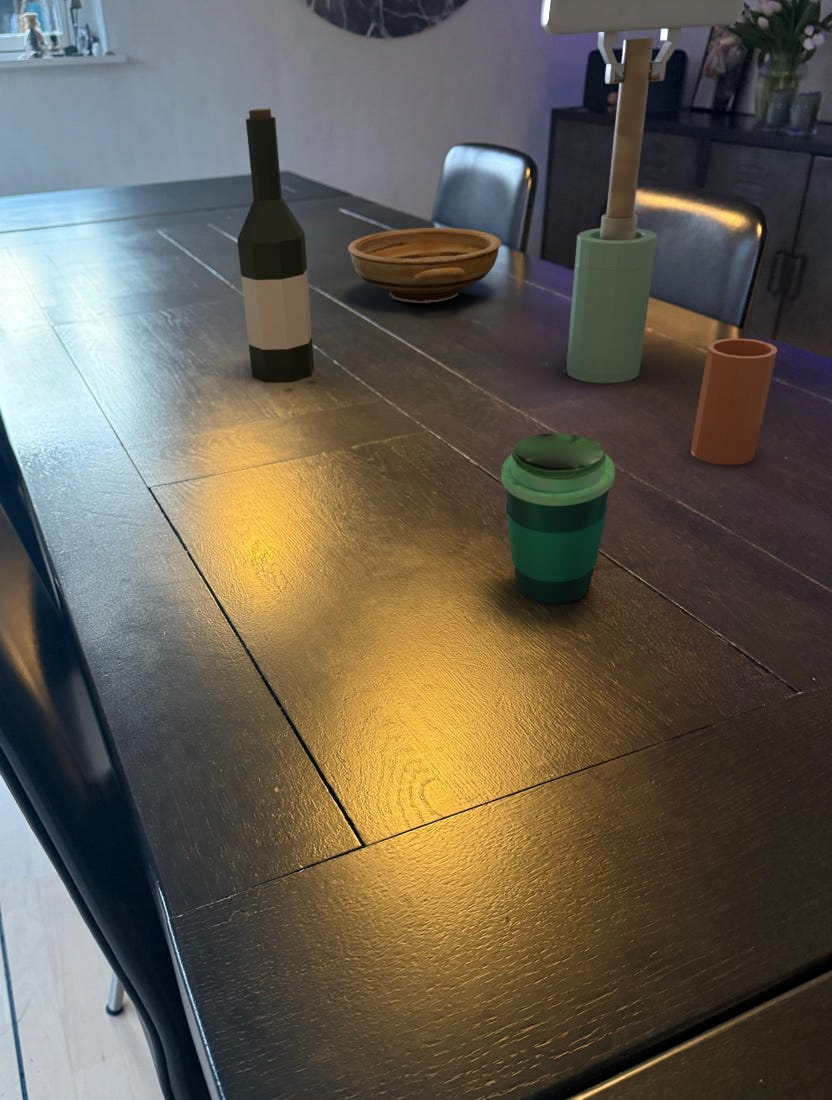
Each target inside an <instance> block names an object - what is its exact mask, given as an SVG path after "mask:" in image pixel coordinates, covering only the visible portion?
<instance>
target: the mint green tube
mask: <svg viewBox="0 0 832 1100" xmlns="http://www.w3.org/2000/svg"><path fill="white" fill-rule="evenodd" d="M600 228H601V227H599V228H598V227H597V228H592V229H587V230H583V231H580V232H579V233H578V235H576V236H577V237H576V247H575V248H576V249H575V259H574V260H575V261H574V270H573V271H574V273H573V284H572V293H571V294H572V295H571V306H570V307H571V308H570V317H569V331H568V342H567V345H568V346H567V355H566V374H567V375H568V376H569V377H571V378H573V379H574V380H577V381H581V382H585V383H592V384H619V383H625V382H629V381H632V380H634V379H636V378H637V377H638V376H639V374H640V368H641V363H642V356H643V349H644V348H643V347H644V340H645V331H646V324H647V317H648V310H649V302H650V292H651V286H652V277H653V270H654V264H655V263H654V261H655V254H656V247H657V241H658V240H657V239H658V234H657V233H656V232H654V231H653V230H649V229H644V228H636V236H635V239H633V240H620V241H619V240H601V239H600Z"/></svg>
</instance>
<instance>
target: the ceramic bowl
mask: <svg viewBox="0 0 832 1100" xmlns="http://www.w3.org/2000/svg"><path fill="white" fill-rule="evenodd" d="M501 246H502V240H501V239H500V238H499V237H498V236H496V235H493V234H491V233H488V232H484V231H479V230H474V229H468V228H467V229H465V228H455V227H454V228H452V227H451V228H450V227H421V228H407V229H397V230H389V231H383V232H378V233H373V234H370V235H366V236H363V237H361V238H358V239H356V240H354V241H352V242H350V244H349V245H348V247H347V249H348V252H349V254H350V258H351V261H352V265H353V267H354V269H355V272H356V273H357V275H358V276H359V277H360V278H361V279H362V280H363V281H364V282H365V283H367V284H369V285H371V286H373V287H375V288H377V289H380V290H383V291H385V292H387V293H389V295H390V294H391V295H393V296H394V297H397V298H401V299H408V300H417V301H425V300H427V301H428V300H439V299H445V298H449V297H452V296H454V295H456V294H457V293H458V292H459V293H460V291H461V290H463V289H465V288H468V287H469V286H471V285H474V284H476V283H478V282H479V281H481V280H483V279H484V278H486V276H487V275H488V274H490V271H491V270H492V269H493V268H494V266H495V264H496V261H497V259H498V255H499V249H500V248H501Z"/></svg>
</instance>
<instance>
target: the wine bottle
mask: <svg viewBox="0 0 832 1100" xmlns="http://www.w3.org/2000/svg"><path fill="white" fill-rule="evenodd" d="M248 115H249V117H248V118H246V119H245V124H246V134H247V145H248V155H249V165H250V177H251V184H252V185H251V186H252V197H253V198H252V199H253V201H252V203H251V205H250V208H249V211H248V213H247V216H246V218H245V220H244V223H243V225H242V227H241V230H240V232H239V234H238V237H237V239H236V240H237V241H236V242H237V250H238V260H239V269H240V277H241V284H242V285H241V287H242V296H243V297H242V298H243V305H244V314H245V324H246V333H247V342H248V350H249V362H250V369H251V377H252V378H255V379H256V380H260V381H262V382H265V383H291V382H295V381H298V380H301V379H302V380H303V379H305V378H308V377H311V376H312V374H313V371H314V369H315V363H314V362H315V361H314V347H313V337H312V336H313V334H312V321H311V320H312V319H311V306H310V292H309V277H308V264H307V263H308V262H307V250H306V249H307V248H306V235H305V234H306V233H305V231H304V229H303V228H302V226H301V225H300V223H299V221H297V218H296V217H295V216H294V214H293V212H292V211H291V209H290V208H289V206H288V205H287V203H286V201H285V199H284V198H283V196H282V185H281V184H282V183H281V171H280V159H279V147H278V134H277V123H276V122H277V121H276V117H275V116H272V109H271V108H256V109H250V110H248Z"/></svg>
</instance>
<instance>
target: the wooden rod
mask: <svg viewBox="0 0 832 1100" xmlns="http://www.w3.org/2000/svg"><path fill="white" fill-rule="evenodd" d="M622 43H623V45H622V55H621V63H623V64H625V68H624V72H623V76H624V78H623V82H622V83H618V85H619V86H618V94H617V105H616V112H615V113H616V114H615V123H614V124H615V125H614V135H613V143H612V144H613V145H612V152H611V153H612V154H611V164H610V175H609V183H608V194H607V202H606V203H607V204H606V213H604V214H602V215H601V219H600V227H599V228H600V239H601V240H619V241H620V240H633V239H635V236H636V228H637V227H638V219H639V216H638V215H637V214H636V213H635V205H636V198H637V197H636V195H637V188H638V178H639V171H640V161H641V154H642V144H643V135H644V129H645V128H644V127H645V119H646V111H647V103H648V102H647V100H648V92H649V83H650V81H649V76H650V67H651V61H652V58H653V50H654V49H653V48H654V37H635V38H633V37H632V38H624V39H623V42H622ZM637 229H638V228H637Z"/></svg>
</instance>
